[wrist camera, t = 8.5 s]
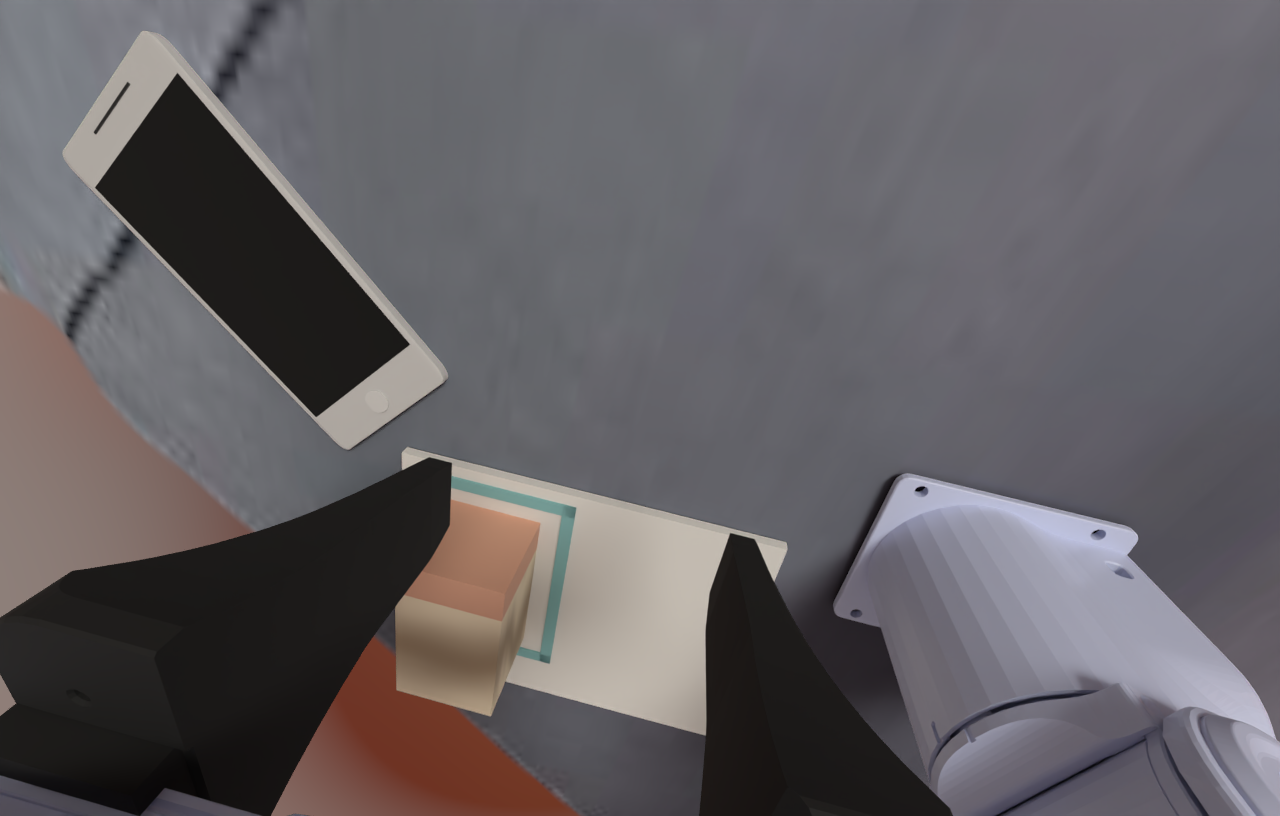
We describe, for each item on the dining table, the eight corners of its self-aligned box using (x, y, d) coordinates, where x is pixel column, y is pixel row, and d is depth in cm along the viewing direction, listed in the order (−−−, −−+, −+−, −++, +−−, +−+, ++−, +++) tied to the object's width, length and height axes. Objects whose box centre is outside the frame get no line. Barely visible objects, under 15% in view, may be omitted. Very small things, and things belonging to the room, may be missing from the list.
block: (523, 637, 29) (490, 716, 25) (442, 615, 29) (396, 690, 25) (540, 522, 25) (505, 593, 21) (447, 498, 25) (394, 564, 21)
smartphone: (355, 444, 26) (343, 454, 25) (81, 156, 22) (55, 156, 21) (456, 372, 23) (446, 380, 23) (168, 29, 19) (142, 23, 18)
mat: (786, 542, 24) (787, 551, 24) (709, 727, 31) (709, 738, 30) (407, 447, 25) (400, 453, 25) (409, 647, 31) (403, 655, 31)
